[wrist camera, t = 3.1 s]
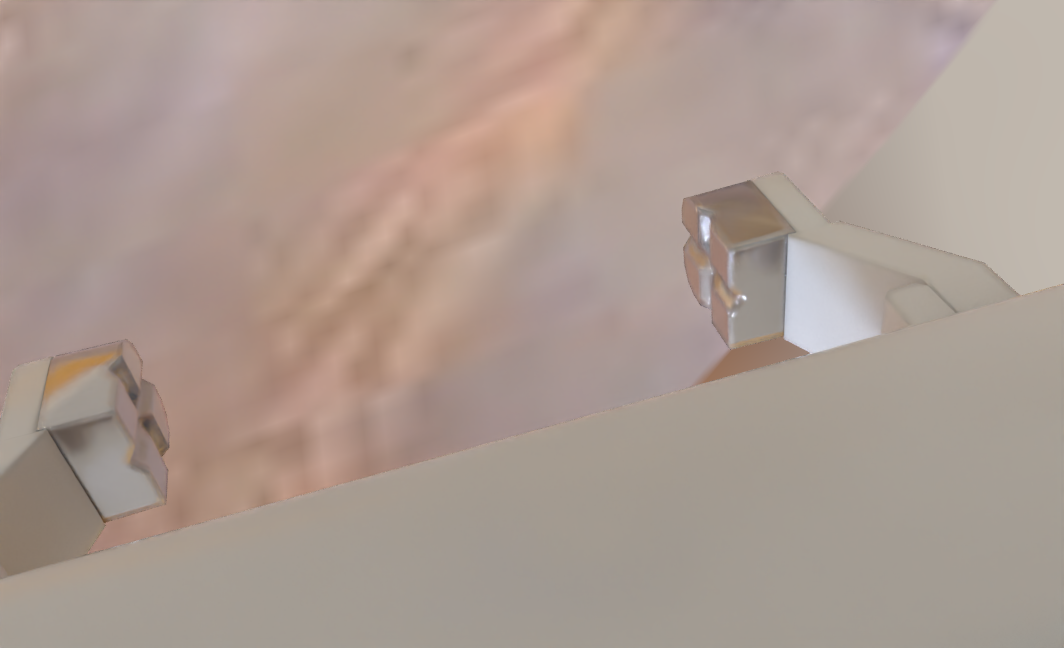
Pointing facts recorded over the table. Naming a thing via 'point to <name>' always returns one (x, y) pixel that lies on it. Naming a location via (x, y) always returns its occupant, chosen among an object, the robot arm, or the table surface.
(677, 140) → the table surface
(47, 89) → the table surface
